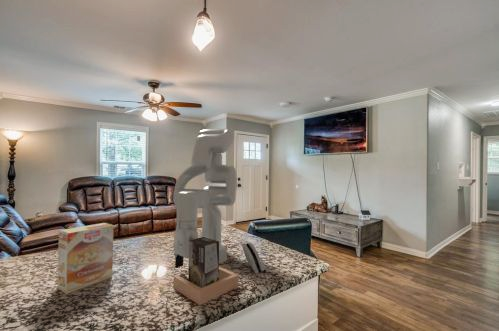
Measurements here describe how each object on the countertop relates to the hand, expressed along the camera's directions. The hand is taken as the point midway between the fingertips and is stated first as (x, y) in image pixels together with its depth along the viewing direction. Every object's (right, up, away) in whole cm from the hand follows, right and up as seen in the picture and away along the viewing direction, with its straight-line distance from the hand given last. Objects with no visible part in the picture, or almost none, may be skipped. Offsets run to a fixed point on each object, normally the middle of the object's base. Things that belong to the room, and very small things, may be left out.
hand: (186, 270), depth 92 cm
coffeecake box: (-34, -2, -5) cm, 34 cm away
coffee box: (+8, -3, -9) cm, 12 cm away
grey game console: (+25, -3, +12) cm, 28 cm away
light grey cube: (+9, -3, +16) cm, 19 cm away
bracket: (+9, -2, -8) cm, 12 cm away
